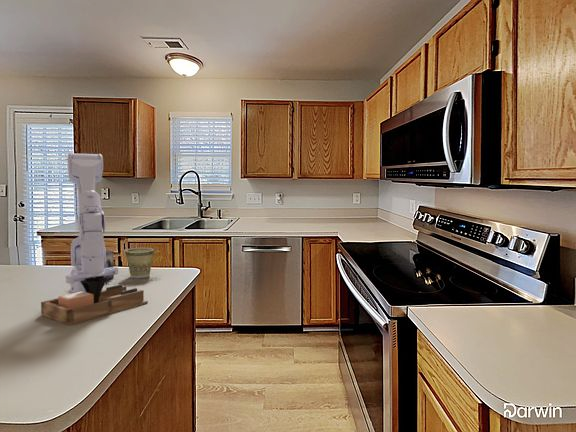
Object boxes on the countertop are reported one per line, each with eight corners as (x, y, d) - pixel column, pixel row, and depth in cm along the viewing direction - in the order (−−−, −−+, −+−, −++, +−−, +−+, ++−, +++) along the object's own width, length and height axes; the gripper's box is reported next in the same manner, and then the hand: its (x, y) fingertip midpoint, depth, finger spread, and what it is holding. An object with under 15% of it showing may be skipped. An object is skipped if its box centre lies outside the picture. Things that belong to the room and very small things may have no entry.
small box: (97, 285, 151) (96, 255, 150) (80, 284, 152) (79, 254, 151) (115, 278, 161) (114, 250, 160) (99, 277, 162) (98, 249, 161)
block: (58, 313, 118) (58, 296, 118) (83, 307, 124) (82, 290, 124) (69, 317, 115) (68, 299, 115) (93, 310, 121) (93, 293, 121)
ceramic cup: (128, 280, 158) (127, 253, 157) (123, 275, 167) (123, 248, 166) (165, 277, 165) (164, 250, 164) (158, 271, 173) (158, 246, 172)
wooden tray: (41, 315, 119) (40, 299, 118) (119, 295, 138) (119, 282, 138) (69, 325, 111) (68, 308, 111) (147, 303, 131) (147, 288, 131)
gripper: (75, 261, 114) (77, 312, 116) (124, 253, 126) (125, 300, 128) (60, 258, 118) (62, 308, 120) (109, 251, 130) (110, 296, 132)
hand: (93, 303), depth 124 cm, fingers closed
